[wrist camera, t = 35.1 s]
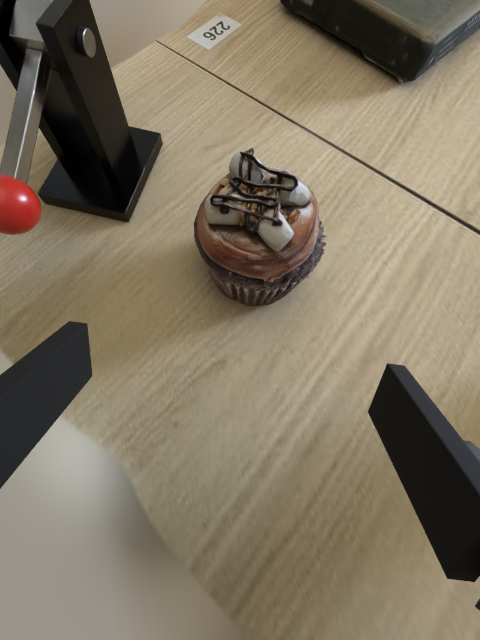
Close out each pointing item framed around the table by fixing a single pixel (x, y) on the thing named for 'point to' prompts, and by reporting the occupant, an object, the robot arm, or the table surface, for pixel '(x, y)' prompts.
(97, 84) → the switch bracket
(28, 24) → the switch lever
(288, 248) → the cupcake
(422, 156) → the table surface
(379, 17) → the network switch
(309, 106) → the table surface
